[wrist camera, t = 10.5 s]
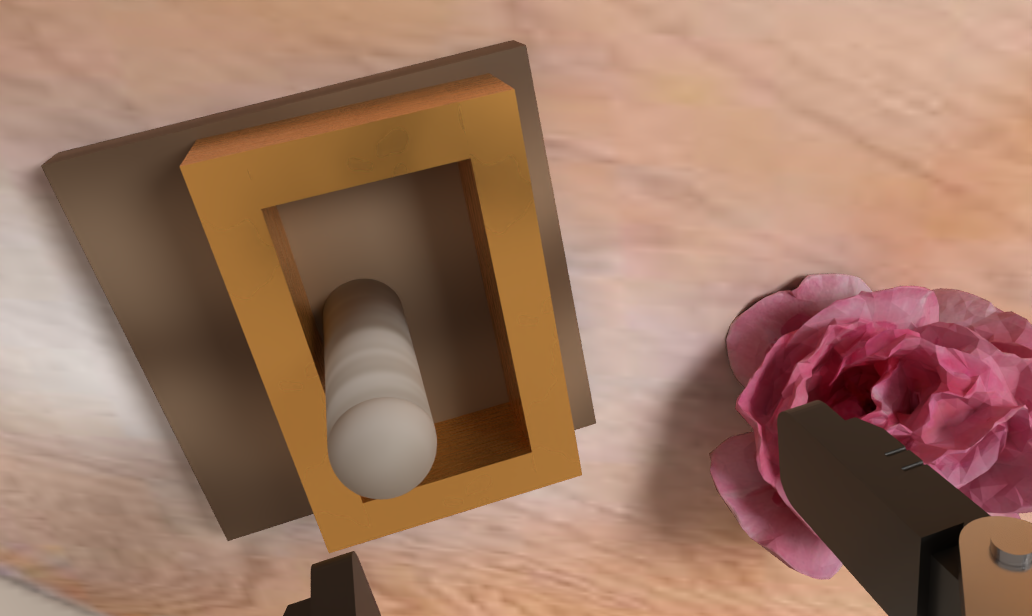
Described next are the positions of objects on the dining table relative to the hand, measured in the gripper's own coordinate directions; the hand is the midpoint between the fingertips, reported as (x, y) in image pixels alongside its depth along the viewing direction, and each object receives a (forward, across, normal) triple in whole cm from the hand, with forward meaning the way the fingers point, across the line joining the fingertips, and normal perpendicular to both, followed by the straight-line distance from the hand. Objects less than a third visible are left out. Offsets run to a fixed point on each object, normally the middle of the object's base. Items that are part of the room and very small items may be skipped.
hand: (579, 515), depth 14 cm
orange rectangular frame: (+11, +2, 0) cm, 11 cm away
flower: (+13, -13, +8) cm, 20 cm away
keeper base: (+13, +3, 0) cm, 13 cm away
